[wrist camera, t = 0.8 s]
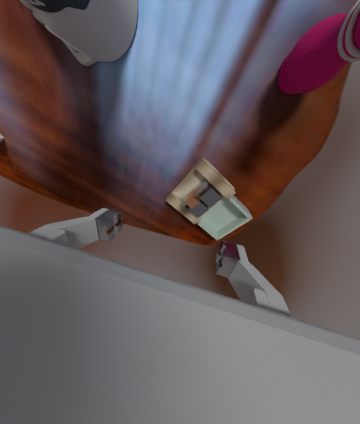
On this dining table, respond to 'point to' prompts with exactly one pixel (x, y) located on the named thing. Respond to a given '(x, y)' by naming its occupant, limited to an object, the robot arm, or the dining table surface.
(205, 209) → the chip
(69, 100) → the dining table surface
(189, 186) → the slot board
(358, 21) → the pepper mill
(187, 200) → the block
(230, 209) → the tray
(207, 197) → the dark grey block
